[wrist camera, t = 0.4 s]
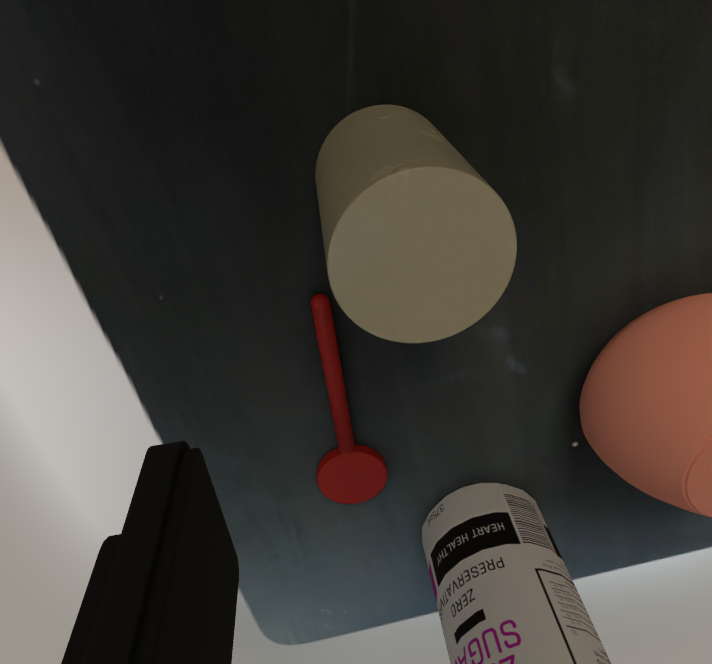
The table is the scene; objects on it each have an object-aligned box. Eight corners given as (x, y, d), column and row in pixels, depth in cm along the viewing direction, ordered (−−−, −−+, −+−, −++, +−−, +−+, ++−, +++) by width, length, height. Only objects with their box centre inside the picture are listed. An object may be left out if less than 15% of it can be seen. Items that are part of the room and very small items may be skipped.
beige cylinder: (304, 116, 27) (311, 184, 18) (445, 93, 27) (518, 151, 18) (326, 247, 30) (341, 357, 22) (452, 227, 30) (516, 328, 22)
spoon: (276, 297, 31) (276, 306, 30) (359, 283, 31) (361, 292, 31) (322, 500, 39) (323, 511, 38) (389, 489, 39) (391, 500, 38)
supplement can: (519, 557, 44) (613, 796, 31) (410, 558, 43) (462, 806, 30) (550, 476, 40) (672, 713, 27) (430, 475, 39) (499, 721, 26)
